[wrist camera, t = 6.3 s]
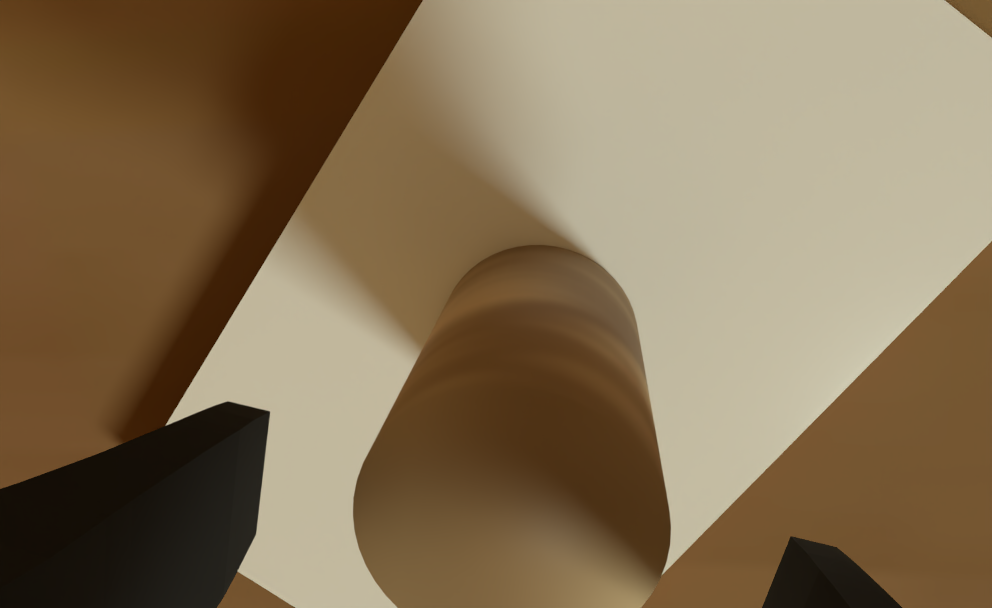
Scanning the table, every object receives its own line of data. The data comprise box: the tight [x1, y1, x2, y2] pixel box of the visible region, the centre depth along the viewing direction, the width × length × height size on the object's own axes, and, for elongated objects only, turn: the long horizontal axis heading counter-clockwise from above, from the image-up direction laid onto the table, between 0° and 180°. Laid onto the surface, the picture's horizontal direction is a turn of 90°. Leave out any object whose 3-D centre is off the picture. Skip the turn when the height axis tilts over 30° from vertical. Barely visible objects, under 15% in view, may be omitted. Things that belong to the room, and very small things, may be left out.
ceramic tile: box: [165, 0, 992, 608], centre depth 18 cm, size 12×20×2 cm, turn 145°
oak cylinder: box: [353, 245, 671, 608], centre depth 14 cm, size 4×4×7 cm
